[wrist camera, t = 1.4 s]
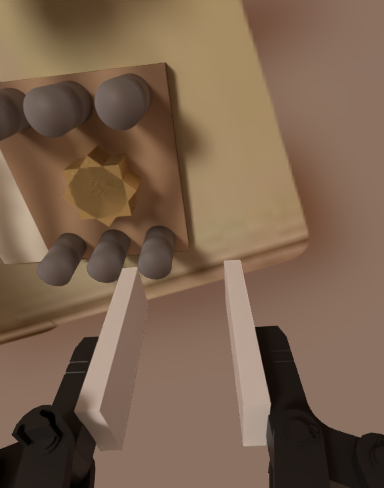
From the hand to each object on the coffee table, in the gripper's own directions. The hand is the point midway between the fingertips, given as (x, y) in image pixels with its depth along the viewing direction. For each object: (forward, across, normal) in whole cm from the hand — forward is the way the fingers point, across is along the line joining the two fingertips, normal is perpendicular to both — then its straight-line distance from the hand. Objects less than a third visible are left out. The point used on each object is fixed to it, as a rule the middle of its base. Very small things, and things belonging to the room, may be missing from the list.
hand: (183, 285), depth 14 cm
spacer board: (+17, -12, 0) cm, 21 cm away
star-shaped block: (+16, -8, 0) cm, 18 cm away
